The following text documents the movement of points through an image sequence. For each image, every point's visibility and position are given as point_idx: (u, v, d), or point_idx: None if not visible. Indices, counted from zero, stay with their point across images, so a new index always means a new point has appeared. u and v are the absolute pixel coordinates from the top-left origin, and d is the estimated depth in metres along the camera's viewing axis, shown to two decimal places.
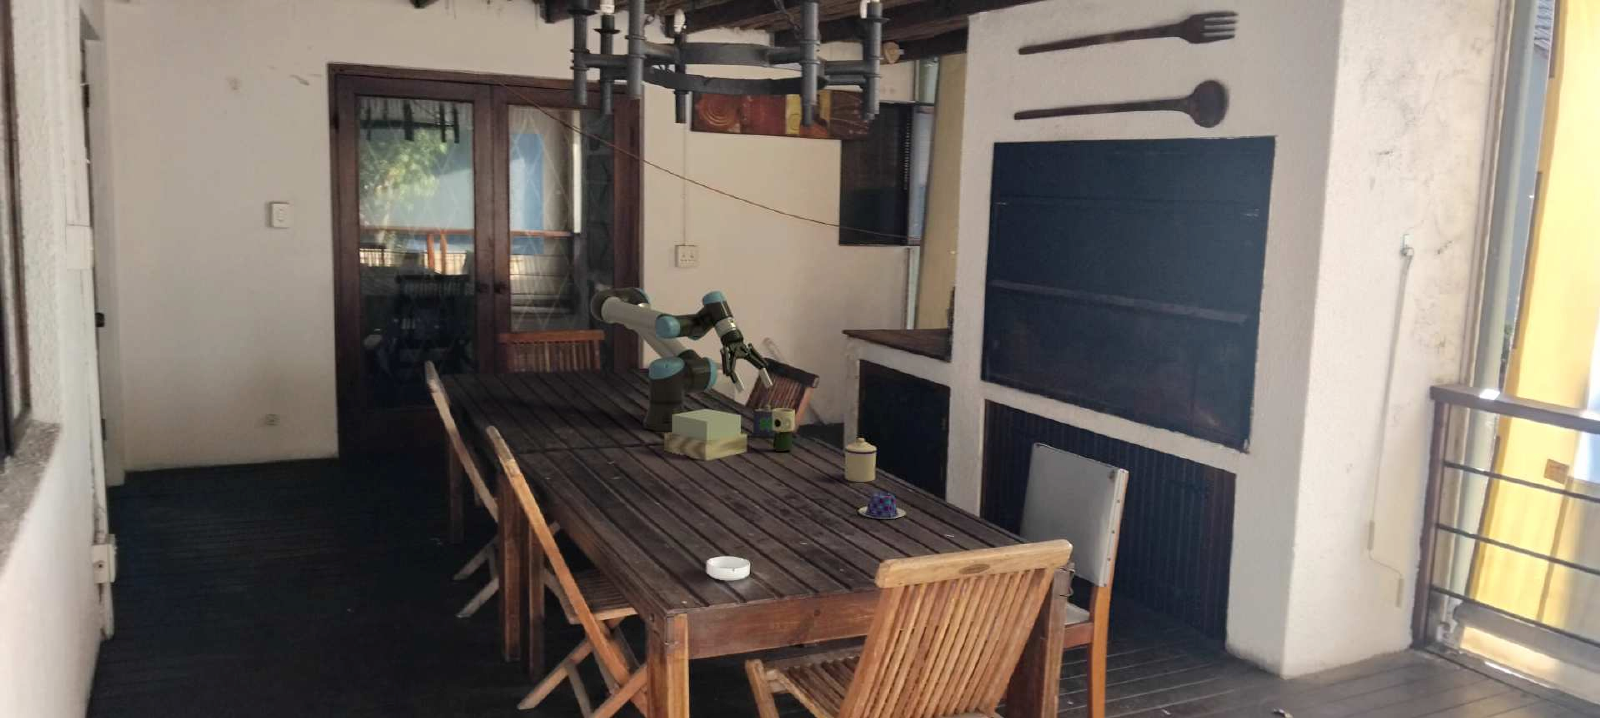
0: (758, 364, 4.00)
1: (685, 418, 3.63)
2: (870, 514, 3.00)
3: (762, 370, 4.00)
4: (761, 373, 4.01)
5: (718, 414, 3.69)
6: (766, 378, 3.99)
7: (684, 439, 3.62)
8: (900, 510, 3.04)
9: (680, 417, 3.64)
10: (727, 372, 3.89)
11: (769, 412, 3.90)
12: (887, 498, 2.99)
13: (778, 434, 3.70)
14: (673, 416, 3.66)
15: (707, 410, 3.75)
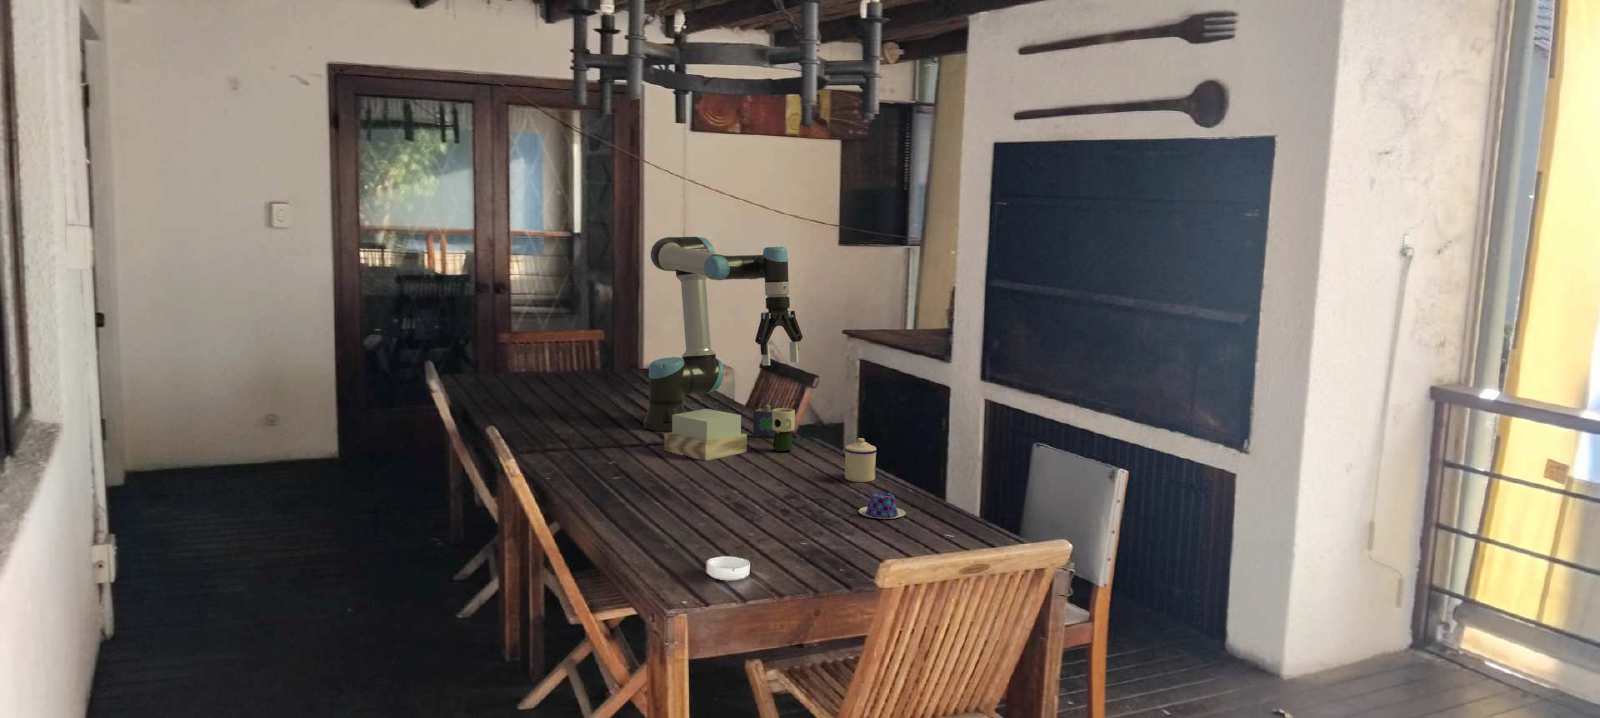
0: (792, 336, 3.77)
1: (685, 418, 3.63)
2: (870, 514, 3.00)
3: (794, 343, 3.78)
4: (792, 345, 3.78)
5: (718, 414, 3.69)
6: (794, 353, 3.78)
7: (684, 439, 3.61)
8: (900, 510, 3.04)
9: (680, 417, 3.64)
10: (760, 342, 3.66)
11: (769, 412, 3.90)
12: (886, 498, 2.99)
13: (778, 434, 3.70)
14: (673, 416, 3.66)
15: (707, 410, 3.75)
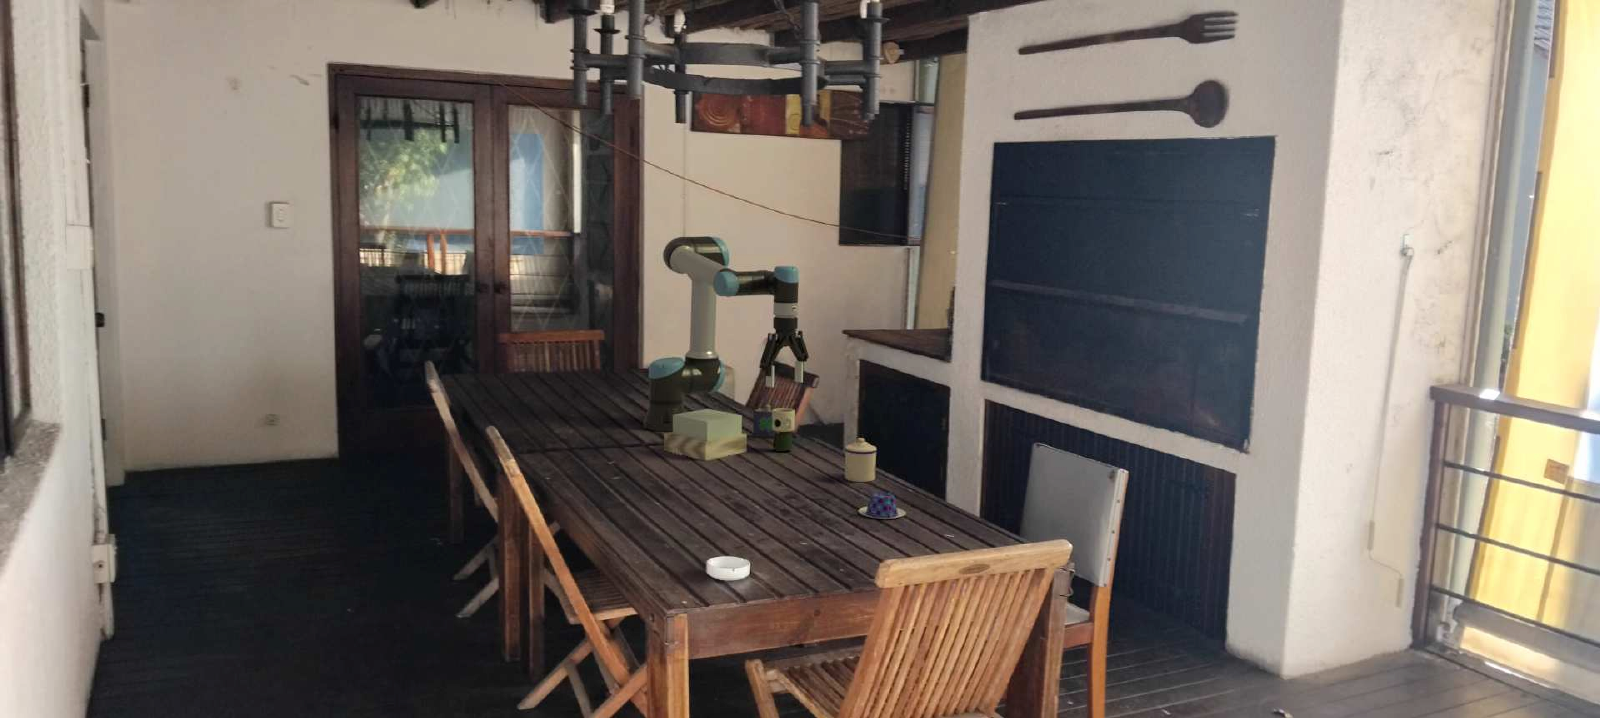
0: (798, 356, 3.72)
1: (686, 418, 3.63)
2: (869, 514, 3.00)
3: (799, 363, 3.73)
4: (797, 365, 3.73)
5: (719, 414, 3.69)
6: (799, 373, 3.73)
7: (684, 439, 3.61)
8: (901, 510, 3.04)
9: (681, 417, 3.64)
10: (765, 364, 3.61)
11: (769, 412, 3.90)
12: (886, 498, 2.99)
13: (778, 434, 3.70)
14: (674, 416, 3.66)
15: (708, 410, 3.75)
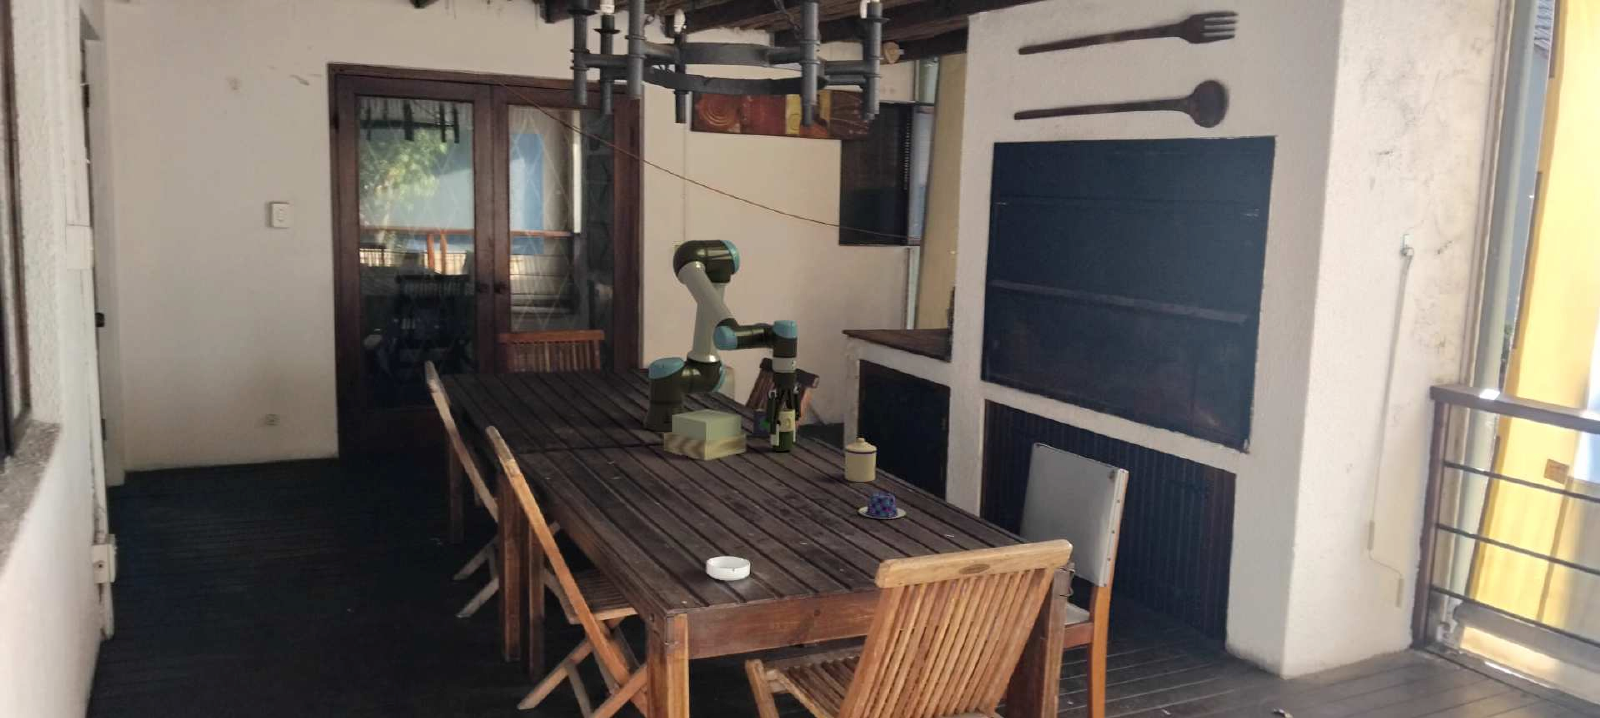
0: None
1: (685, 418, 3.63)
2: (869, 514, 3.00)
3: None
4: None
5: (718, 414, 3.68)
6: (792, 432, 3.74)
7: (683, 439, 3.62)
8: (901, 511, 3.04)
9: (680, 417, 3.64)
10: (769, 423, 3.66)
11: None
12: (885, 498, 2.99)
13: None
14: (673, 416, 3.66)
15: (708, 410, 3.75)
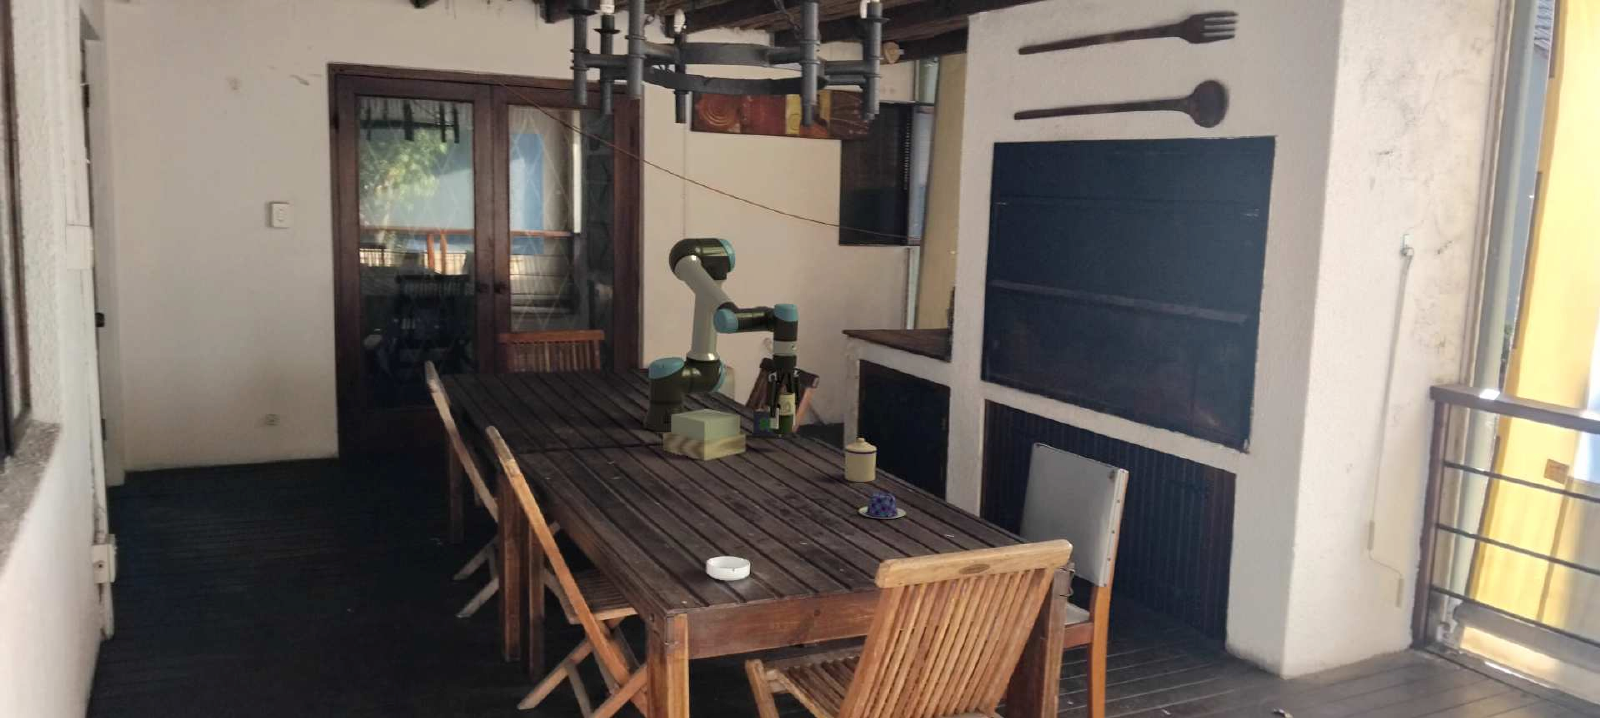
0: None
1: (684, 418, 3.63)
2: (868, 513, 3.00)
3: None
4: None
5: (717, 414, 3.68)
6: (791, 416, 3.73)
7: (683, 439, 3.62)
8: (902, 511, 3.04)
9: (679, 417, 3.64)
10: (769, 406, 3.65)
11: (769, 412, 3.90)
12: (885, 498, 2.99)
13: None
14: (672, 416, 3.66)
15: (707, 410, 3.75)
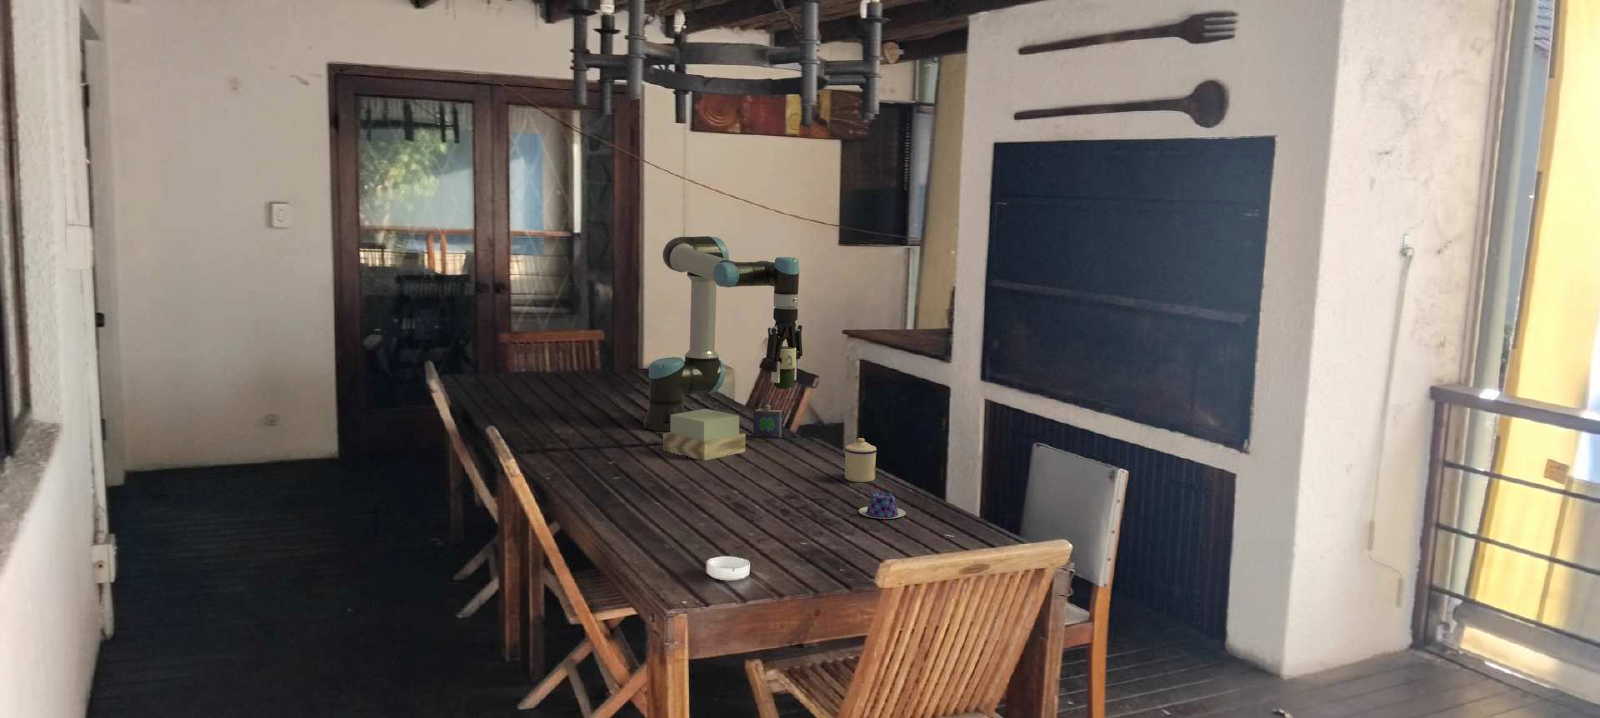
0: None
1: (683, 418, 3.63)
2: (868, 513, 3.00)
3: None
4: None
5: (716, 414, 3.68)
6: (793, 371, 3.71)
7: (682, 439, 3.62)
8: (902, 511, 3.03)
9: (678, 417, 3.64)
10: (770, 360, 3.63)
11: (769, 412, 3.90)
12: (884, 498, 2.99)
13: None
14: (671, 416, 3.66)
15: (706, 410, 3.75)
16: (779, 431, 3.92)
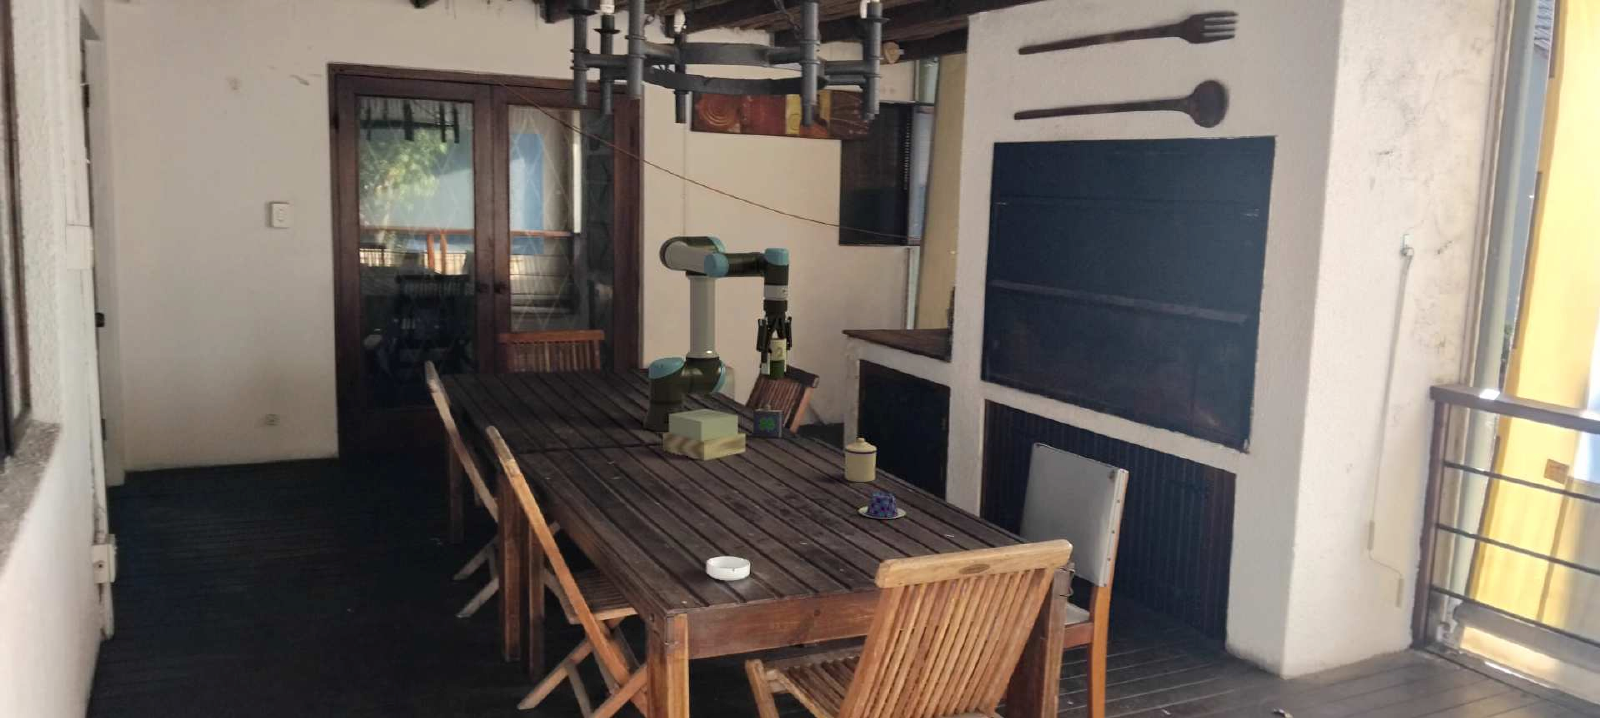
0: None
1: (681, 418, 3.63)
2: (868, 513, 3.00)
3: None
4: None
5: (715, 414, 3.68)
6: (783, 362, 3.70)
7: (682, 439, 3.62)
8: (902, 511, 3.03)
9: (676, 417, 3.64)
10: (760, 351, 3.62)
11: (769, 412, 3.90)
12: (884, 498, 2.99)
13: None
14: (670, 416, 3.66)
15: (705, 410, 3.75)
16: (779, 431, 3.92)
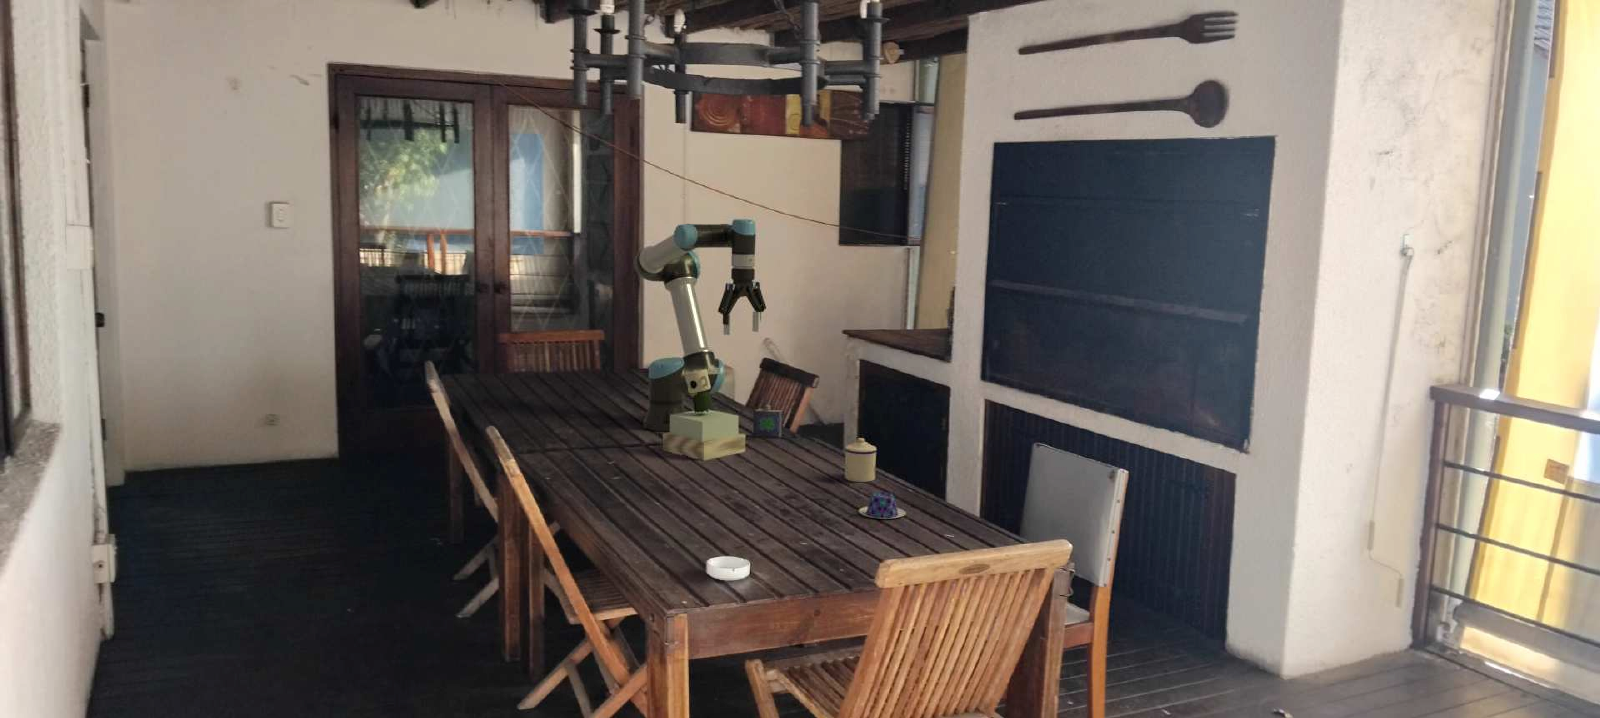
0: (756, 306, 3.87)
1: (682, 418, 3.63)
2: (867, 512, 3.01)
3: (757, 313, 3.88)
4: (754, 315, 3.89)
5: (716, 414, 3.69)
6: (757, 323, 3.88)
7: (682, 439, 3.62)
8: (903, 513, 3.02)
9: (677, 417, 3.65)
10: (722, 312, 3.76)
11: (769, 412, 3.90)
12: (881, 498, 2.99)
13: (697, 396, 3.66)
14: (671, 416, 3.67)
15: None
16: (779, 431, 3.92)
